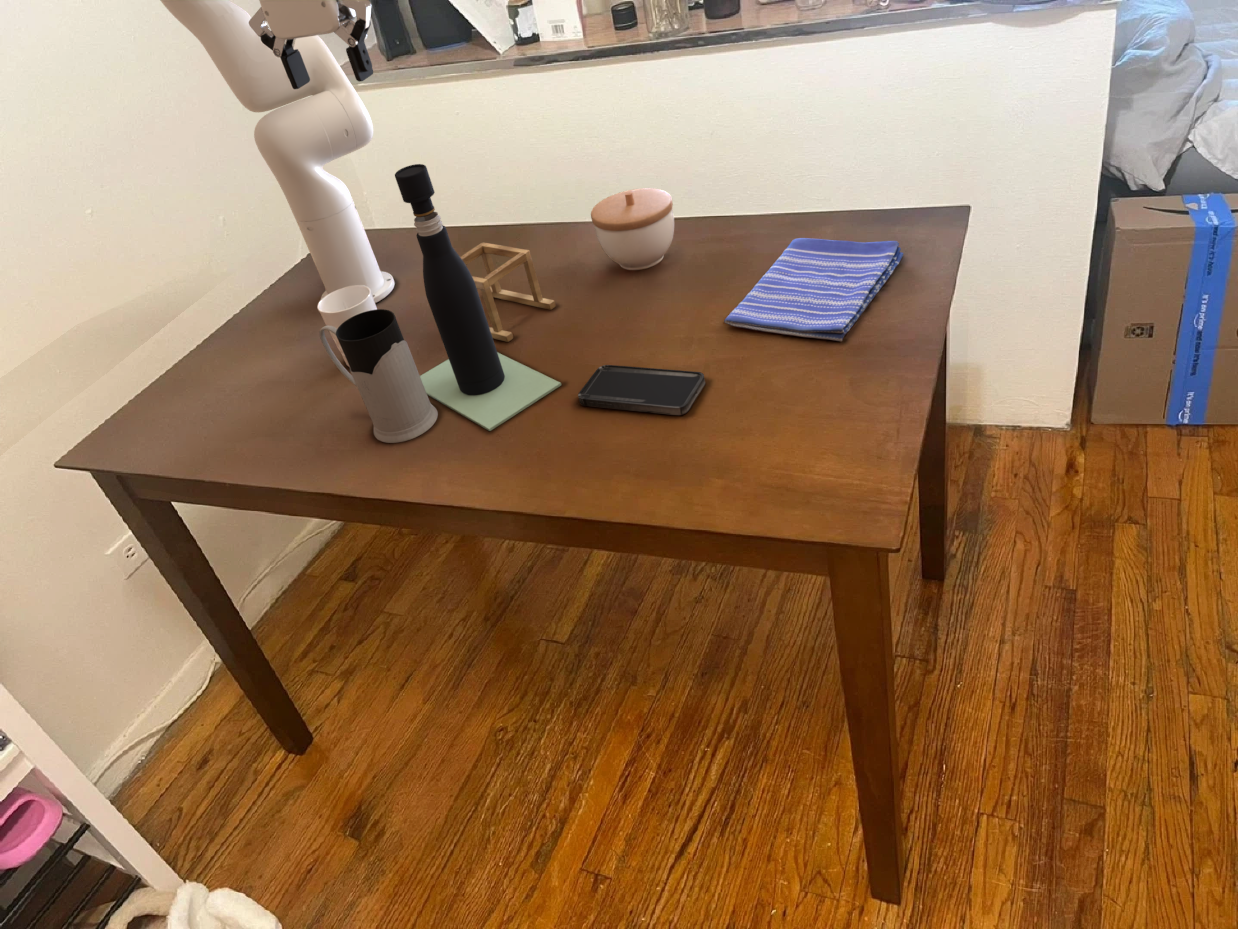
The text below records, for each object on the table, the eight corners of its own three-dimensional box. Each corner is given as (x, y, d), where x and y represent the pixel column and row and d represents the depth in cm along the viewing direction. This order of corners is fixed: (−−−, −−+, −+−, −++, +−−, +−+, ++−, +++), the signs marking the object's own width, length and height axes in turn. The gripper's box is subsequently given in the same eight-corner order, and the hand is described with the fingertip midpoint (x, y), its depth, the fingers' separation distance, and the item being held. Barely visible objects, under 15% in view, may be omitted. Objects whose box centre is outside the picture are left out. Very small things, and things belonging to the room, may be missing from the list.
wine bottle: (497, 394, 126) (425, 178, 108) (453, 396, 128) (375, 184, 110) (510, 367, 131) (444, 156, 113) (467, 370, 132) (395, 162, 114)
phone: (600, 364, 125) (706, 372, 118) (602, 371, 126) (708, 379, 119) (574, 398, 120) (683, 409, 113) (576, 405, 120) (685, 416, 114)
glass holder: (408, 448, 121) (365, 347, 112) (332, 429, 128) (287, 333, 119) (450, 409, 126) (414, 310, 117) (375, 392, 133) (335, 299, 124)
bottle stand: (444, 325, 146) (424, 271, 140) (491, 292, 151) (475, 239, 146) (508, 342, 137) (490, 285, 132) (556, 306, 143) (541, 250, 138)
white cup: (404, 344, 143) (381, 285, 137) (373, 373, 138) (348, 313, 132) (363, 341, 147) (339, 284, 141) (332, 369, 141) (306, 311, 135)
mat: (409, 384, 133) (408, 382, 133) (477, 344, 139) (476, 342, 138) (489, 431, 120) (489, 428, 120) (561, 385, 125) (560, 382, 125)
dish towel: (906, 256, 134) (906, 237, 132) (845, 344, 119) (844, 325, 118) (793, 247, 143) (791, 230, 141) (723, 329, 128) (720, 310, 127)
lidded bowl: (682, 270, 144) (671, 201, 138) (601, 284, 146) (586, 217, 139) (679, 235, 154) (668, 169, 148) (603, 248, 156) (589, 184, 149)
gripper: (356, -90, 109) (405, 64, 119) (237, -66, 115) (294, 78, 125) (321, -75, 103) (376, 85, 114) (199, -51, 110) (261, 98, 120)
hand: (333, 81), depth 119 cm, fingers open, 9 cm apart
